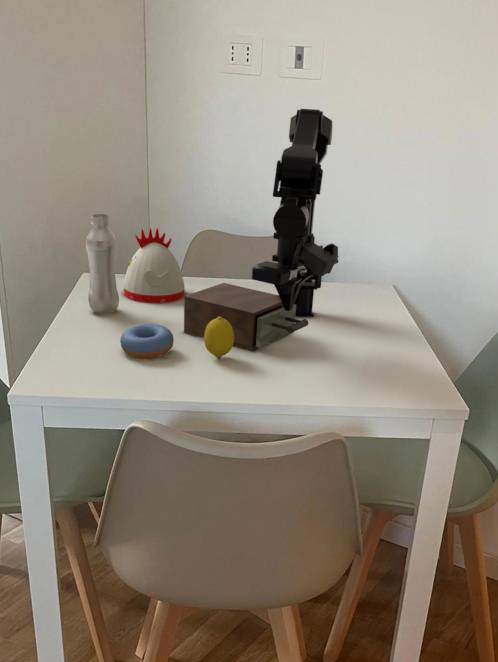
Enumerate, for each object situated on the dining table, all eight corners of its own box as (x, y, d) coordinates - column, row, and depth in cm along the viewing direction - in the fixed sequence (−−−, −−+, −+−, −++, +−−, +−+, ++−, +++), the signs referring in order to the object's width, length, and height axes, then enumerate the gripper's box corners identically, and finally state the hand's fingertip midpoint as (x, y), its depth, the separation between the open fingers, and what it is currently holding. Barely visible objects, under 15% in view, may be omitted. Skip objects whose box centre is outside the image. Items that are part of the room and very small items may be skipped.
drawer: (315, 337, 161) (317, 309, 159) (282, 353, 152) (284, 324, 149) (231, 316, 171) (232, 290, 168) (196, 330, 162) (197, 302, 159)
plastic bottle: (124, 309, 175) (122, 214, 165) (110, 318, 169) (106, 220, 160) (98, 305, 177) (94, 211, 167) (82, 313, 171) (77, 216, 161)
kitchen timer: (121, 286, 191) (119, 221, 183) (178, 285, 194) (179, 221, 187) (127, 303, 179) (126, 234, 172) (188, 302, 182) (189, 234, 175)
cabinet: (288, 334, 165) (290, 298, 162) (251, 351, 155) (253, 312, 152) (222, 317, 173) (223, 282, 170) (183, 332, 163) (184, 295, 159)
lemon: (232, 364, 149) (234, 322, 145) (202, 362, 149) (203, 320, 145) (233, 353, 153) (235, 313, 150) (204, 352, 153) (205, 311, 150)
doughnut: (130, 364, 146) (129, 340, 144) (113, 346, 154) (113, 323, 152) (181, 358, 150) (181, 334, 148) (163, 341, 158) (163, 318, 156)
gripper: (306, 243, 137) (299, 331, 145) (356, 227, 151) (347, 308, 158) (252, 232, 142) (248, 318, 150) (305, 218, 156) (299, 297, 164)
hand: (288, 310), depth 155 cm, fingers closed
